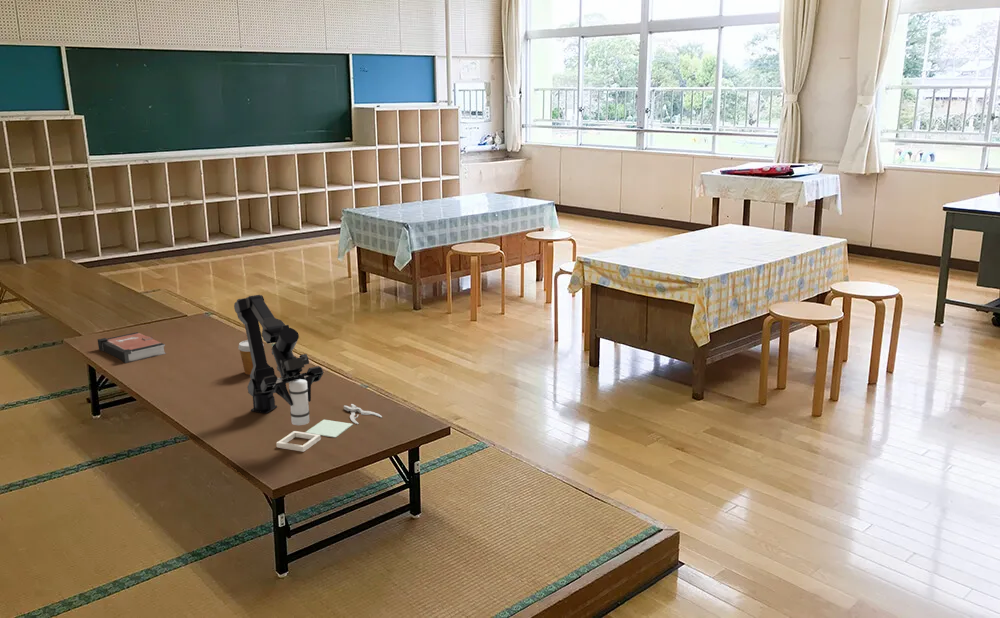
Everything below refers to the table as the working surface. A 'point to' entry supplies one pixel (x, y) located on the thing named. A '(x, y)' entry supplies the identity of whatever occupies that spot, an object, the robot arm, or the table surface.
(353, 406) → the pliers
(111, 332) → the table surface
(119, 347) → the book
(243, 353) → the disposable coffee cup
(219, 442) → the table surface
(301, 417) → the grey-banded white cylinder
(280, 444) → the white square frame
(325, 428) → the mat
